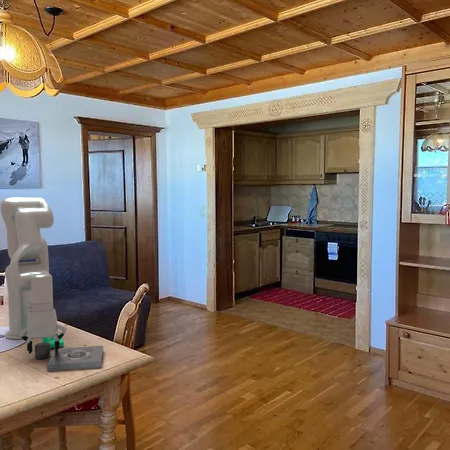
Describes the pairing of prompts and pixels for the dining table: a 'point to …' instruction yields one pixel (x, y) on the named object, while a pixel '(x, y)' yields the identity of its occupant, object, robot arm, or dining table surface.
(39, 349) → the dark gray cylinder
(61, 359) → the mount plate
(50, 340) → the camera mount
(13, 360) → the dining table surface
